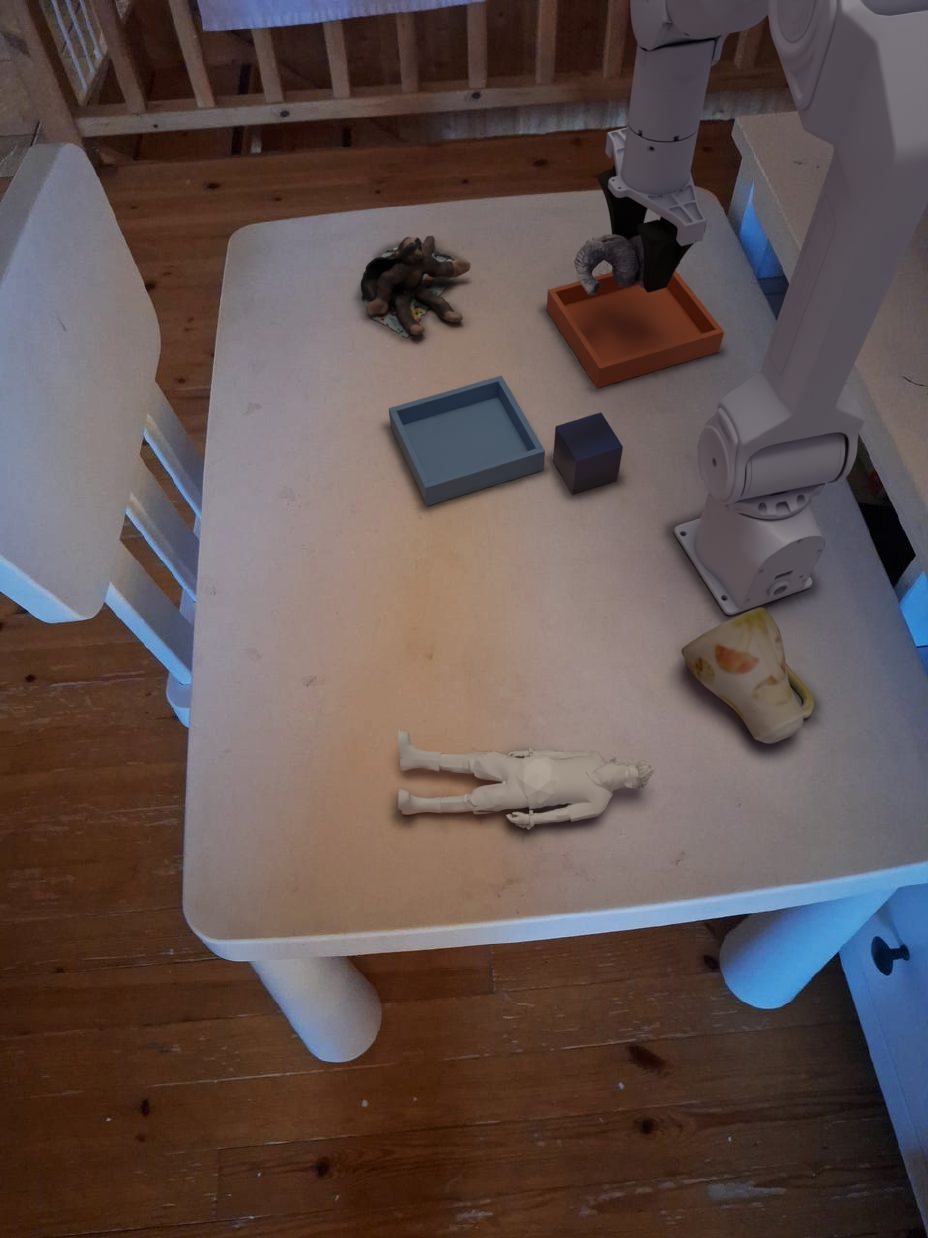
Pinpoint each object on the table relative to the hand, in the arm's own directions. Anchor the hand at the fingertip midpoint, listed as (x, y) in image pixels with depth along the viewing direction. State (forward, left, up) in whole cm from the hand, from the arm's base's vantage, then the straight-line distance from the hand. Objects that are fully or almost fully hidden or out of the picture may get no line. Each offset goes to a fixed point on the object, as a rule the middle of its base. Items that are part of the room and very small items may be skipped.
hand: (639, 267), depth 84 cm
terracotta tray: (0, 0, -8) cm, 8 cm away
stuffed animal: (+14, +18, -8) cm, 24 cm away
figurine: (-41, +28, -8) cm, 50 cm away
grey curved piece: (0, +1, -2) cm, 2 cm away
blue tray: (-8, +21, -8) cm, 24 cm away
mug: (-40, +10, -8) cm, 42 cm away
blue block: (-15, +12, -8) cm, 20 cm away
